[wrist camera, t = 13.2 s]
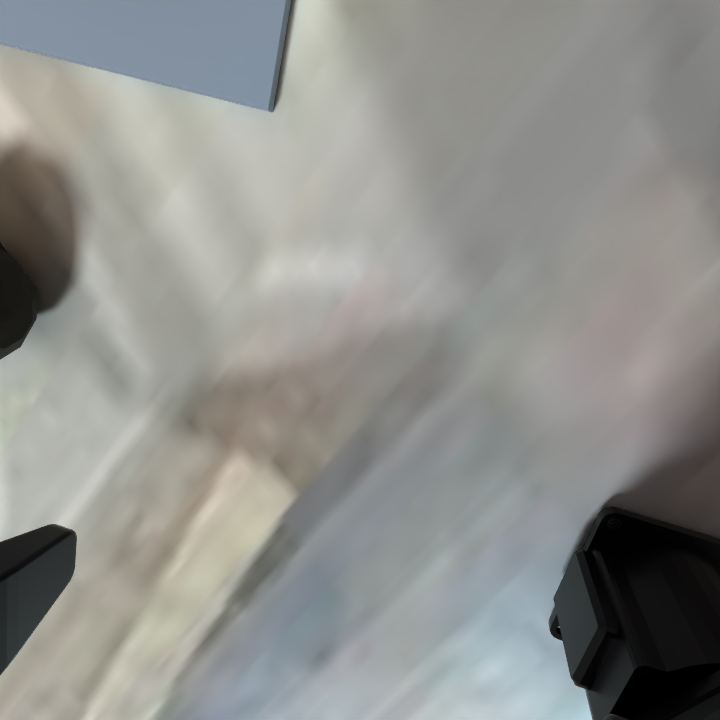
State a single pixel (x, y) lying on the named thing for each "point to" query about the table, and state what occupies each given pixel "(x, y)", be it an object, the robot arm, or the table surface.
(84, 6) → the mat
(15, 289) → the microphone
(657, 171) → the table surface
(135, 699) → the table surface
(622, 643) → the robot arm
